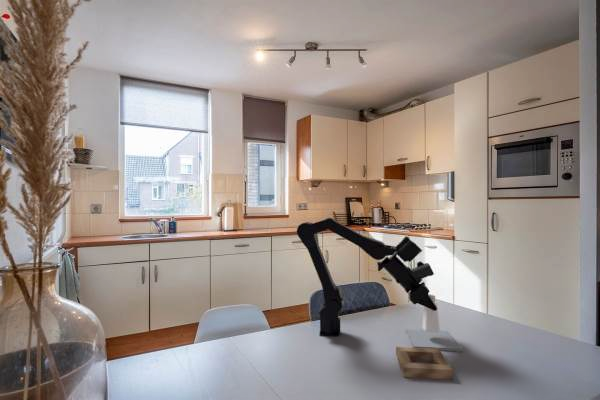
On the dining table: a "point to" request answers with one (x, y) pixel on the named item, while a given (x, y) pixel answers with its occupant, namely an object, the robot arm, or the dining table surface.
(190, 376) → the dining table surface
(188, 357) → the dining table surface
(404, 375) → the walnut collar
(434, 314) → the pepper shaker
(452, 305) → the dining table surface
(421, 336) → the slate grey mat
